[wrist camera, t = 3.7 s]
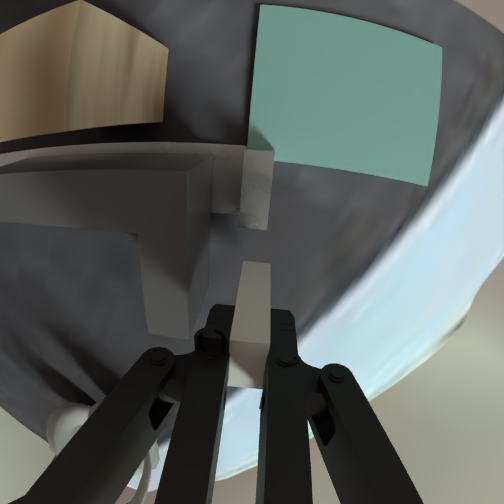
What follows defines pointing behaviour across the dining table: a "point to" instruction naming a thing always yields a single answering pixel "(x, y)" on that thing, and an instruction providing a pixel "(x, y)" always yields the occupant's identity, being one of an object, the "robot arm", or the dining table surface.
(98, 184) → the grey l-shaped block
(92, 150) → the rail
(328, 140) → the pad
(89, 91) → the beech block
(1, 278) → the dining table surface
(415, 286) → the dining table surface
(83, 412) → the headphones
